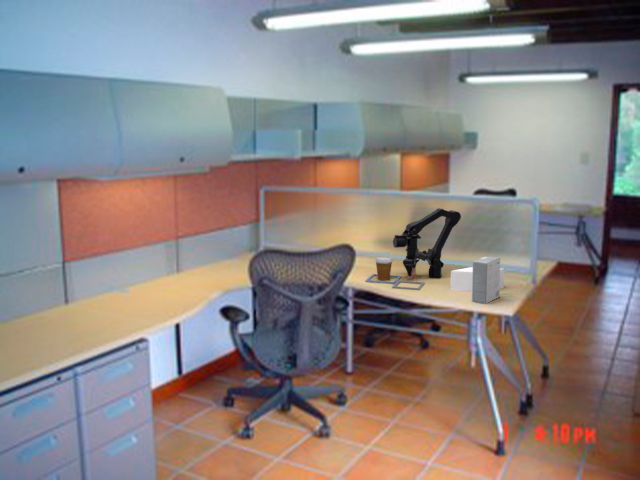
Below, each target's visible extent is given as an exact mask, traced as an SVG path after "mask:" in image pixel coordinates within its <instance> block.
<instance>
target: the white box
mask: <svg viewBox="0 0 640 480" xmlns="http://www.w3.org/2000/svg"><path fill="white" fill-rule="evenodd" d="M472 272H473V266H470V267H465V268H459V269H453V270H451V271H450V291H456V290H457V291H460V292H470V291H472ZM505 274H506V271H505V268H500V288H501V289H503V288H502V287H504V288H505Z"/></svg>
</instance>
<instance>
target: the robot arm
mask: <svg viewBox="0 0 640 480" xmlns="http://www.w3.org/2000/svg"><path fill="white" fill-rule="evenodd" d="M441 217H444V218H445V219H444V225H443V227H442V229H441V232H440V234H439V236H438V238H437V239H436V242H435V244H434V246H433V247H432V248H428V249H427V251H426V250H423V251H420V250H419V248H418V240H420V239H422V236H420V234H419V233H420V232H421V231H422V230H423V229H424V228H425V227H426V226H428V225H429V224H432V223H433V222H434V221H436V220H439V218H441ZM461 219H462V215H461V213H460V211H456V210H453V209H452V210H445V209H444V208H439V207H438V208H436V209H435V210H434V211H433V212H431V213H428V215H426V216H424V217H422V218H420V219H419V220H416V221H412V222H409V223H408V224H406V226H405V229H404V231H403V232H402V234H394V238H393V240H392V245H393V248H406V249H405V251H406V256H405V258H404V259H403V260H402V265H403V266H404V269H405V271H406V274H407V273H408V275H409V276H411V273H412V268H413V267H414V268H416V269H417V267H416V266H417V264H418V263H419V261H423V262H427V263H428V265H429V267H428V278H430V279H431V278H433V279H441V278H442V277H443V275H442V274H443V273H442V272H443V271H442V269H443V267H444V263H443V262H442V260H441V257H442V250H443V249H444V246H445V244H446V243H447V240H448V238H449V236H450V234H451V232H452V231H453V228H454V227H455V226H457V225H458V223H459V222H460V220H461Z"/></svg>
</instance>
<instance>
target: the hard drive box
mask: <svg viewBox="0 0 640 480" xmlns="http://www.w3.org/2000/svg"><path fill="white" fill-rule="evenodd" d="M472 267H473V272H472V292H471V302H472V303H477V302H479V304H483V303H485V305H487V304H489V303H491V302H492V300H493V301H495V300H496V298H497V299H499V298H500V294H501V293H500V290H501V289H500V269H501V257H497V256H496V257H495V256H487V255H486V256H483V257H480V258H479V259H476V260H474V261H472ZM498 297H499V298H498ZM494 299H495V300H494ZM490 301H491V302H490ZM488 302H489V303H488ZM486 303H487V304H486Z"/></svg>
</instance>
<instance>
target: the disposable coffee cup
mask: <svg viewBox="0 0 640 480" xmlns="http://www.w3.org/2000/svg"><path fill="white" fill-rule="evenodd" d="M374 261H375V263H376V264H375V265H376V274H377V275H378V276H377V281H387V282H389V281H390V278H391V277H390V275H391V271H392V263H393V258H392V257H389V256H377V257H376V258H375V260H374Z"/></svg>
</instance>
